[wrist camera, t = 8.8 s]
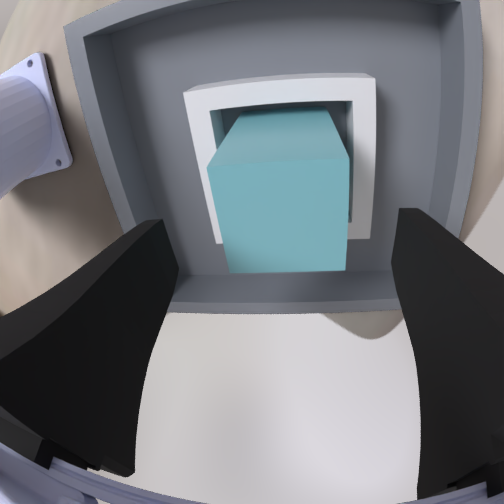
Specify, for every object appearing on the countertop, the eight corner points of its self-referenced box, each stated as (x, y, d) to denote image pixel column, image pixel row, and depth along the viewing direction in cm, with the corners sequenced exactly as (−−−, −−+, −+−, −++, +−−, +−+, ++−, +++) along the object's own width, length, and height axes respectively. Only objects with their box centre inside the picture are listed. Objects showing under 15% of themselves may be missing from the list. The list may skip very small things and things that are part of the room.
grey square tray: (171, 281, 23) (158, 311, 20) (96, 23, 12) (63, 26, 10) (424, 274, 20) (436, 306, 17) (448, -9, 9) (477, -13, 6)
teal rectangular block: (252, 184, 17) (229, 273, 11) (241, 112, 14) (206, 167, 9) (328, 181, 16) (345, 270, 11) (325, 106, 14) (349, 158, 8)
